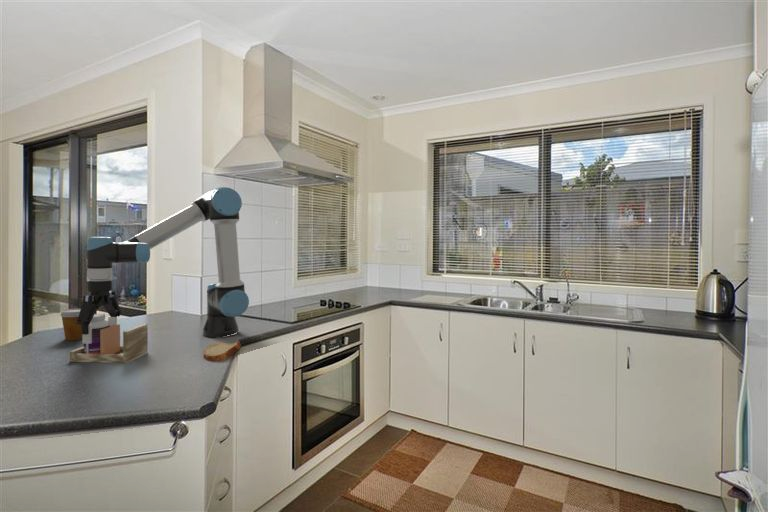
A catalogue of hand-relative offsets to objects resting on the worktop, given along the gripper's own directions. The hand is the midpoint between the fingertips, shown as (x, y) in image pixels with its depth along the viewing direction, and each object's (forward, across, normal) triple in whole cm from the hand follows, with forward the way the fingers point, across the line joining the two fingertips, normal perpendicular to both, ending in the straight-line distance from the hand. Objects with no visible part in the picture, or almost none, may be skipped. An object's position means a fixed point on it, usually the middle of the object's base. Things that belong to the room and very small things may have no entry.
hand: (100, 338), depth 152 cm
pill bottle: (+6, 0, -1) cm, 6 cm away
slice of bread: (+7, -9, +41) cm, 43 cm away
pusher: (+6, 0, +4) cm, 7 cm away
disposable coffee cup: (+7, -25, -28) cm, 38 cm away
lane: (+7, 0, +4) cm, 8 cm away
